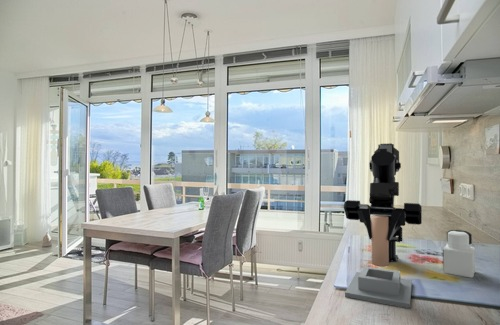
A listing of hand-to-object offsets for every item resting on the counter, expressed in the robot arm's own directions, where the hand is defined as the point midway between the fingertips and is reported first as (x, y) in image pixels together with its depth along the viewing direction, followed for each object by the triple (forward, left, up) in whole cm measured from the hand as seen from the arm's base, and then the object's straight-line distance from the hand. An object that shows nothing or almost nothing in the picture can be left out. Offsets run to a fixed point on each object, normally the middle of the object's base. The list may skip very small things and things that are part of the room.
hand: (379, 239), depth 80 cm
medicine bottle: (-25, +19, -13) cm, 34 cm away
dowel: (-1, 0, -7) cm, 7 cm away
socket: (-1, 0, -13) cm, 13 cm away
